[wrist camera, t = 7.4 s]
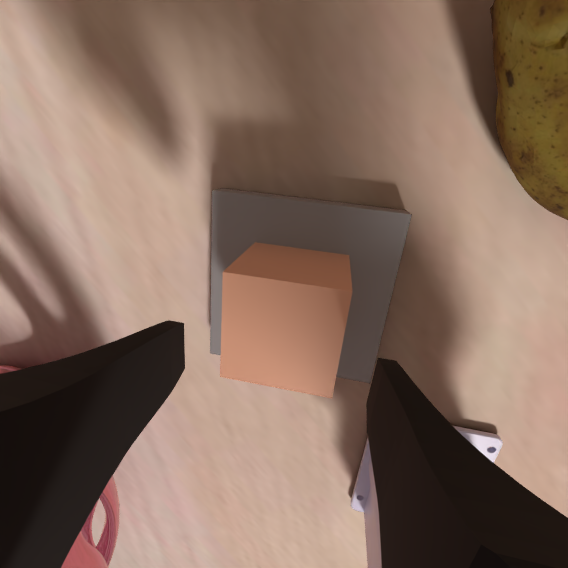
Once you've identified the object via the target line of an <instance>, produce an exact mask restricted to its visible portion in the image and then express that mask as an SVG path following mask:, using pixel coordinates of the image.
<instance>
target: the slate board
mask: <svg viewBox="0 0 568 568" xmlns="http://www.w3.org/2000/svg"><path fill="white" fill-rule="evenodd" d="M411 216H412V214H410V213H409V212H408V211H406V210H400V209H391V208H383V207H375V206H366V205H358V204H349V203H341V202H333V201H324V200H316V199H308V198H299V197H291V196H283V195H274V194H266V193H258V192H249V191H241V190H233V189H224V188H221V189H216V190H212V242H211V330H210V353H211V354H216V355H221V321H222V279H223V271H224V270H225V269H226V268H227V267H229V266H230V265H231V264H232V263H233V262H234V261H235V260H236V259H237V258H238V257H239V256H241V255H242V254H243V253H244V252H245V251H246V250H247V249H248V248H249V247H250V246H252V245H253V244H254V243H255V242H257V243H264V244H272V245H279V246H286V247H294V248H301V249H308V250H315V251H323V252H330V253H337V254H345V255H349V259H350V269H351V280H352V291H353V292H352V297H351V302H350V307H349V312H348V318H347V323H346V328H345V333H344V338H343V344H342V349H341V354H340V359H339V364H338V370H337V375H336V377H339V378H345V379H350V380H355V381H361V382H366V383H370V382H371V378H372V374H373V369H374V365H375V361H376V357H377V353H378V349H379V345H380V341H381V337H382V333H383V329H384V325H385V321H386V317H387V313H388V309H389V305H390V301H391V297H392V293H393V289H394V285H395V280H396V276H397V272H398V268H399V264H400V260H401V256H402V252H403V248H404V244H405V240H406V236H407V232H408V228H409V224H410V220H411Z"/></svg>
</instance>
